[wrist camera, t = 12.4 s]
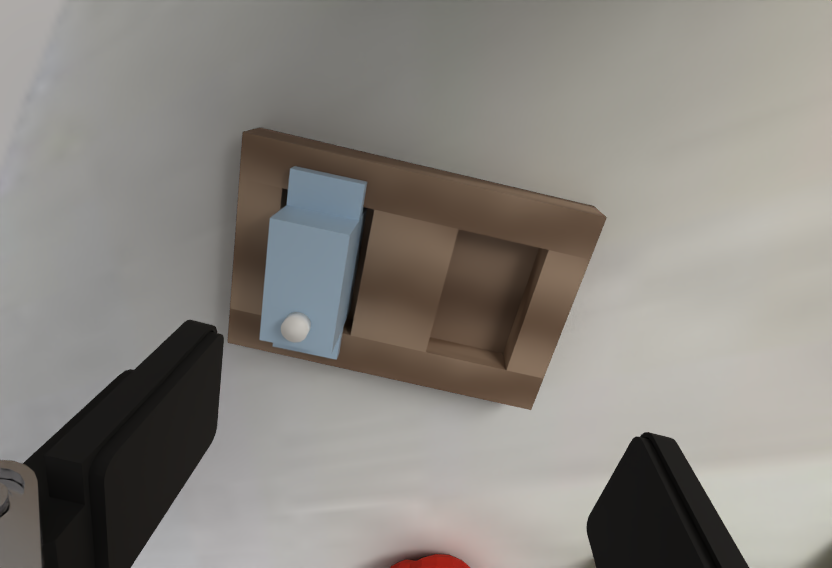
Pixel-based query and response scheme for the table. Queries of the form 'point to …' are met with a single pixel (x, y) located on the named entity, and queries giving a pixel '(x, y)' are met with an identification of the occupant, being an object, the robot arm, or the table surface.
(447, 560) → the tomato
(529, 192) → the tray
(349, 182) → the light blue drawer box
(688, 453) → the table surface
